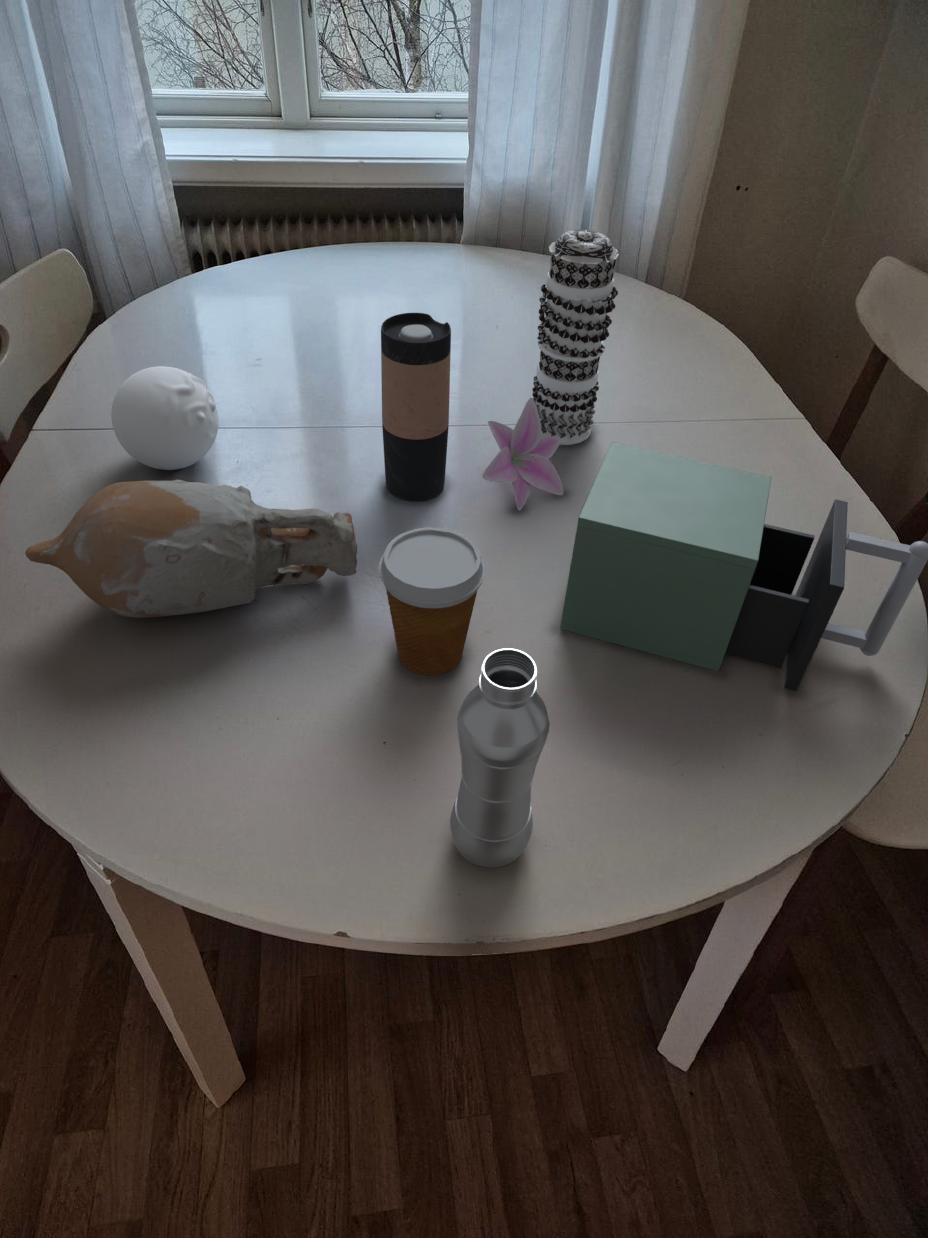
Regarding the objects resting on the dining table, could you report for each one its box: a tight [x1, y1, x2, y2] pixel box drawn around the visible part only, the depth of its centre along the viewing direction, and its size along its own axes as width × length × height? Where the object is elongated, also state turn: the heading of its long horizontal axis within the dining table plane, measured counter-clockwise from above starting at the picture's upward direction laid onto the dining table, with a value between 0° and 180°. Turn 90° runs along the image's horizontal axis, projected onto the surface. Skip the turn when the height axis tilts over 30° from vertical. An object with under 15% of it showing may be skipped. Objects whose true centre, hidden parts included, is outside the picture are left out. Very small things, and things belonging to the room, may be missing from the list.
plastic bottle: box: [449, 647, 550, 869], centre depth 62 cm, size 6×7×20 cm
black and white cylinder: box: [531, 229, 620, 446], centre depth 107 cm, size 9×9×25 cm
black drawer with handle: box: [725, 499, 928, 692], centre depth 83 cm, size 22×14×15 cm, turn 70°
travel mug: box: [380, 312, 452, 502], centre depth 98 cm, size 8×8×20 cm
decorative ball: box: [110, 365, 220, 471], centre depth 102 cm, size 12×12×12 cm
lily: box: [481, 397, 565, 511], centre depth 103 cm, size 12×12×10 cm
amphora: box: [25, 479, 359, 619], centre depth 84 cm, size 14×16×30 cm
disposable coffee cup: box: [378, 526, 487, 676], centre depth 80 cm, size 10×10×12 cm
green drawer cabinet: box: [559, 441, 772, 672], centre depth 86 cm, size 16×14×14 cm
